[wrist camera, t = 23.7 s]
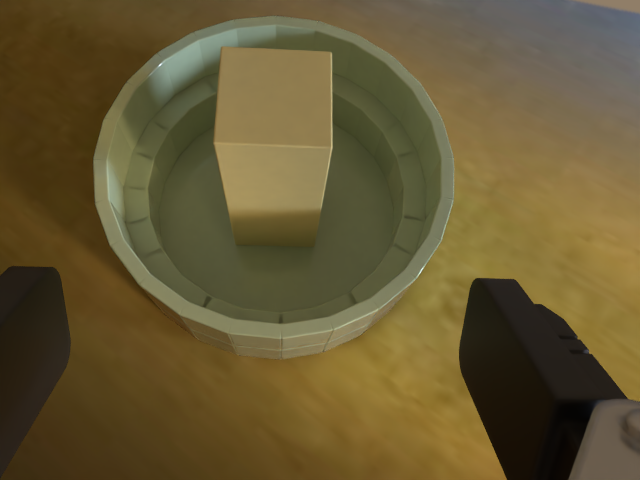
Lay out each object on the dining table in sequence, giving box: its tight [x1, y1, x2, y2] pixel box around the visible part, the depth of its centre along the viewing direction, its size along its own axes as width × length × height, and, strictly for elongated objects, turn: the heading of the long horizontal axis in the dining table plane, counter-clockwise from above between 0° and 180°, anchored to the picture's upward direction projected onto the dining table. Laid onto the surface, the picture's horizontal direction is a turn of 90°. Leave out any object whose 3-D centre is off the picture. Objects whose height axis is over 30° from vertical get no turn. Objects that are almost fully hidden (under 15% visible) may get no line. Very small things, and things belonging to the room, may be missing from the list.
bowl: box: [93, 16, 454, 359], centre depth 26 cm, size 15×15×6 cm
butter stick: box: [213, 46, 333, 247], centre depth 24 cm, size 4×4×10 cm
